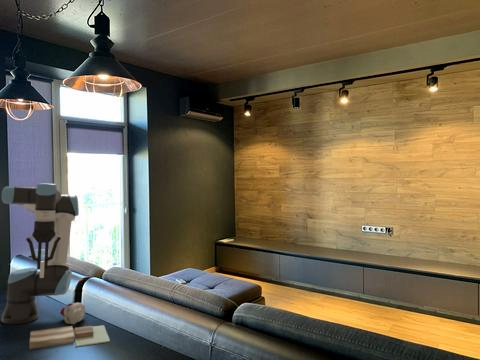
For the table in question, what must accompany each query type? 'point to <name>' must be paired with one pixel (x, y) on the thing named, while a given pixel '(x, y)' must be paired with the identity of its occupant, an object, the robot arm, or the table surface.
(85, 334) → the walnut tile
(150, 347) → the table surface
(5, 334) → the table surface
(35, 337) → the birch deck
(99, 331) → the sage mat
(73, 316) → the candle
